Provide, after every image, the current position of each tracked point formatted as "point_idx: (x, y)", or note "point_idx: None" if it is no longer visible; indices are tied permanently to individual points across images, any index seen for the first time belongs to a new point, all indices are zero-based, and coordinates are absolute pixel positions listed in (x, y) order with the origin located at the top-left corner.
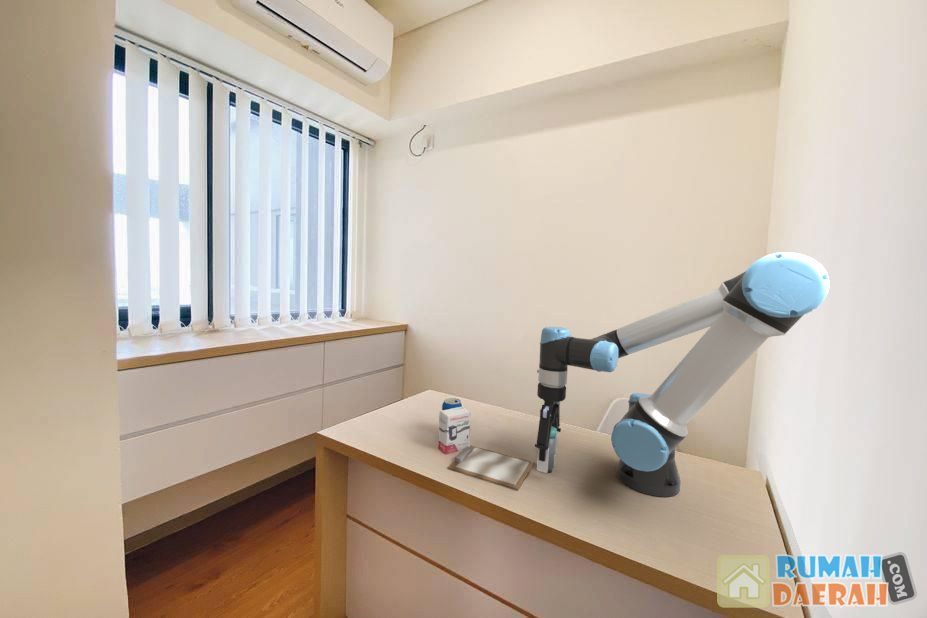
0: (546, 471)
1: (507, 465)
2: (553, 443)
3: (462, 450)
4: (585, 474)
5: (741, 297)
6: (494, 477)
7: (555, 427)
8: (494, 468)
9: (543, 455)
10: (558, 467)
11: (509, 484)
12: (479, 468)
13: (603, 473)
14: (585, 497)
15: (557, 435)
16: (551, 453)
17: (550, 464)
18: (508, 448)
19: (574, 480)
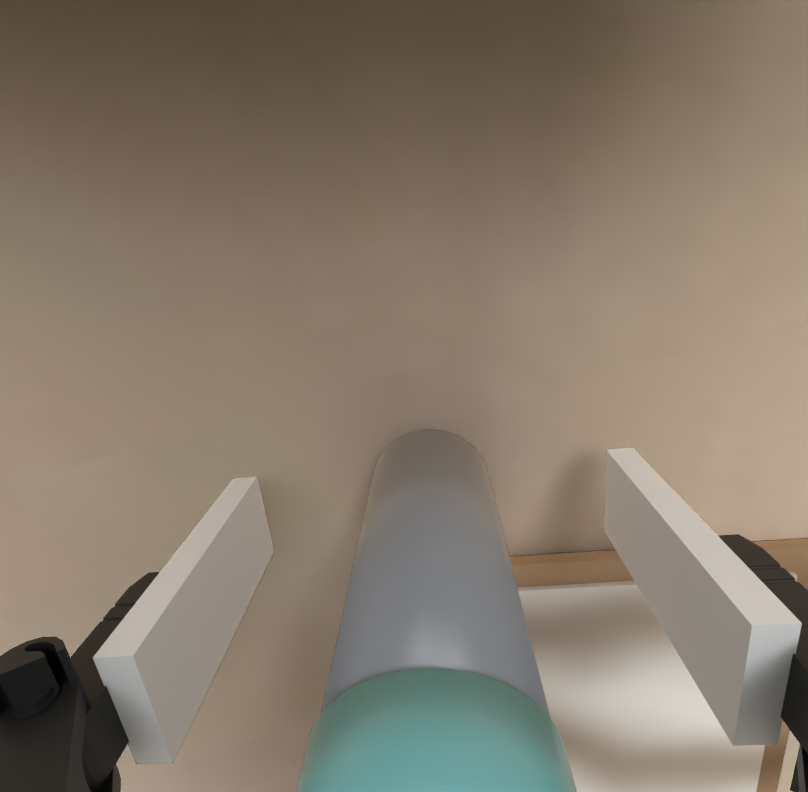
0: (637, 458)
1: (565, 688)
2: (481, 607)
3: None
4: (282, 171)
5: None
6: None
7: (81, 781)
8: (649, 731)
9: (804, 600)
10: (326, 404)
11: None
12: (697, 789)
13: (136, 9)
14: (679, 62)
15: (131, 622)
16: (485, 527)
17: (475, 466)
18: (307, 742)
19: (448, 232)
